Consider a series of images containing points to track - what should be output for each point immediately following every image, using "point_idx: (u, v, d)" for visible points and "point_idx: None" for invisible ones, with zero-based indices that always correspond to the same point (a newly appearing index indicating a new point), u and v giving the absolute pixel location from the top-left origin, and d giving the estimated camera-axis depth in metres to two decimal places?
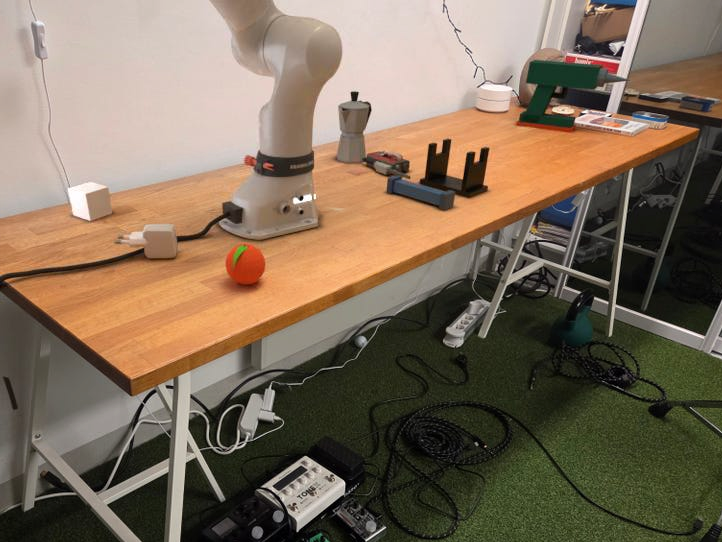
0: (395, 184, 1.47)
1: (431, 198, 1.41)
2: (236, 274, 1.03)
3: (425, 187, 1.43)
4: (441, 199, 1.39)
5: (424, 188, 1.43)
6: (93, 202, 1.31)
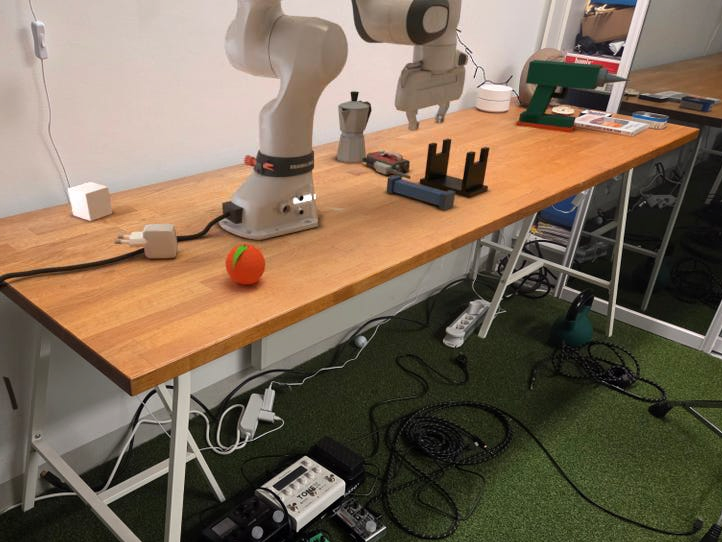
0: (395, 184, 1.47)
1: (431, 198, 1.41)
2: (236, 274, 1.03)
3: (425, 187, 1.43)
4: (441, 199, 1.39)
5: (424, 188, 1.43)
6: (93, 202, 1.31)
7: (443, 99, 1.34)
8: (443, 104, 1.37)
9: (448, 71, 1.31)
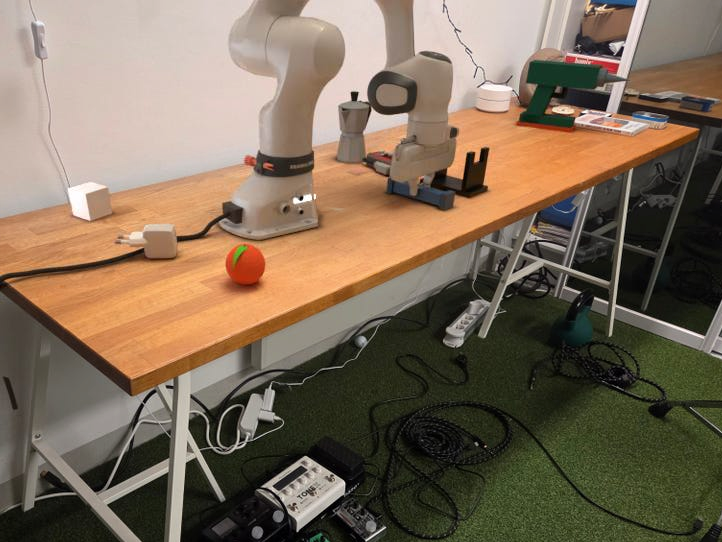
0: (395, 184, 1.47)
1: (431, 199, 1.41)
2: (236, 274, 1.03)
3: (425, 187, 1.43)
4: (441, 199, 1.39)
5: (424, 188, 1.43)
6: (93, 202, 1.31)
7: (435, 168, 1.42)
8: (428, 174, 1.43)
9: (440, 143, 1.39)
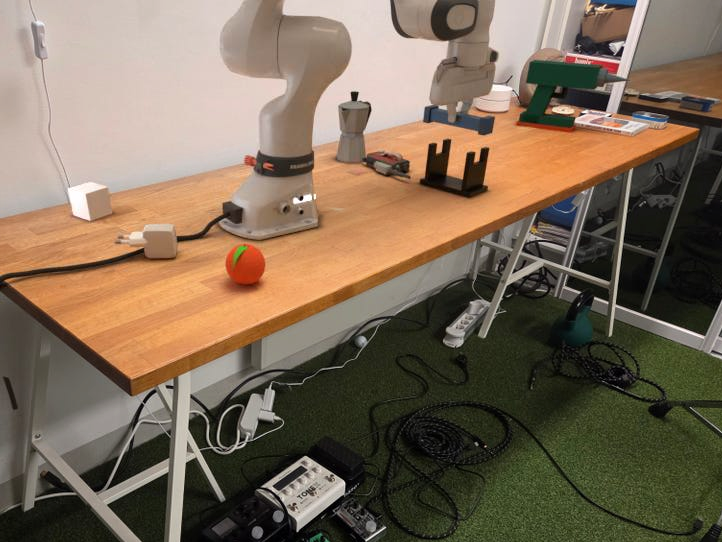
0: (432, 113, 1.46)
1: (470, 125, 1.40)
2: (236, 274, 1.03)
3: (463, 114, 1.42)
4: (481, 124, 1.37)
5: (462, 115, 1.41)
6: (93, 202, 1.31)
7: (474, 94, 1.40)
8: (467, 101, 1.42)
9: (480, 67, 1.37)
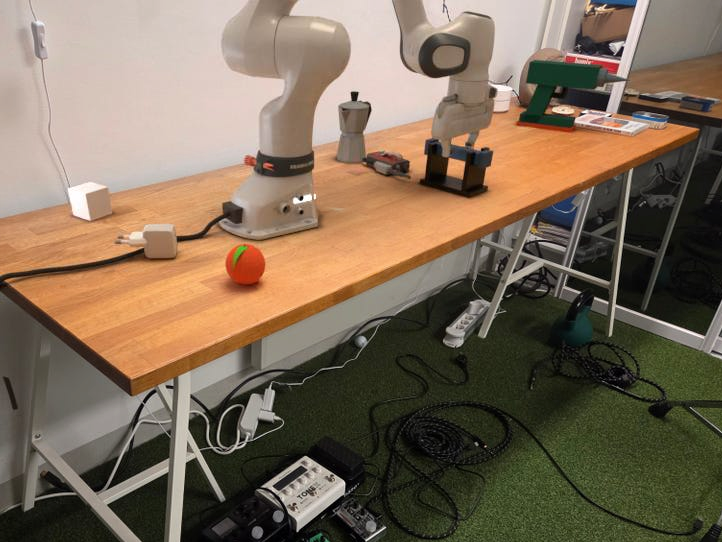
0: None
1: None
2: (236, 274, 1.03)
3: (463, 147, 1.48)
4: (480, 158, 1.43)
5: (462, 148, 1.47)
6: (93, 202, 1.31)
7: (474, 128, 1.46)
8: (473, 132, 1.49)
9: (479, 103, 1.43)
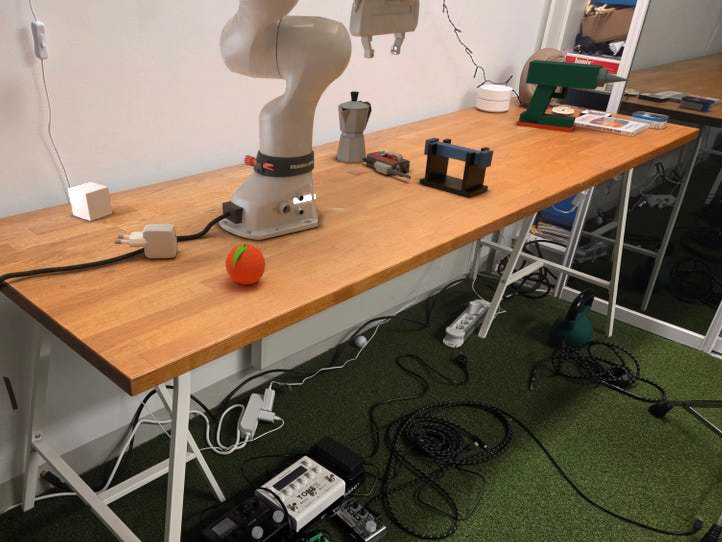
0: None
1: None
2: (236, 274, 1.03)
3: (463, 147, 1.48)
4: (480, 158, 1.43)
5: (462, 148, 1.47)
6: (93, 202, 1.31)
7: (398, 28, 1.39)
8: (398, 35, 1.42)
9: (402, 0, 1.36)
